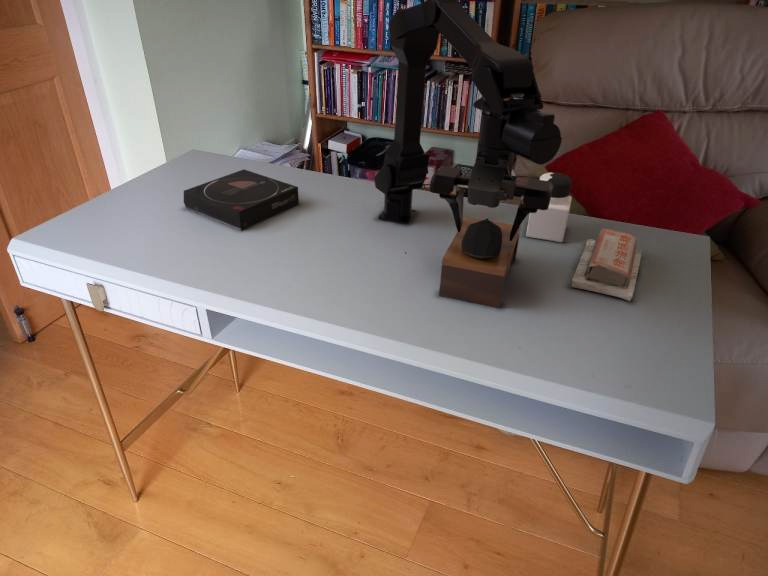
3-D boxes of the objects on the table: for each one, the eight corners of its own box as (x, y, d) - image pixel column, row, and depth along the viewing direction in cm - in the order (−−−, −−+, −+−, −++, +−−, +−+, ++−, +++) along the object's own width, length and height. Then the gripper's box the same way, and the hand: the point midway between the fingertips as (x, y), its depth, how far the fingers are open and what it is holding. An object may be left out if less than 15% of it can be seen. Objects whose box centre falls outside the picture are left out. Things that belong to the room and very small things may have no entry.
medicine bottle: (565, 228, 120) (577, 172, 114) (562, 243, 115) (574, 185, 108) (530, 222, 122) (539, 167, 116) (525, 237, 116) (535, 179, 110)
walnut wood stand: (461, 250, 111) (465, 216, 107) (515, 260, 108) (521, 225, 104) (438, 295, 97) (442, 258, 93) (499, 308, 94) (505, 270, 91)
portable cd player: (243, 185, 135) (241, 168, 133) (298, 204, 127) (297, 187, 125) (184, 207, 124) (181, 189, 121) (241, 230, 115) (239, 211, 113)
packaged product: (591, 222, 112) (647, 233, 108) (586, 245, 114) (640, 257, 111) (575, 263, 98) (638, 277, 94) (569, 288, 100) (631, 303, 97)
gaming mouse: (506, 225, 104) (509, 204, 102) (497, 264, 92) (501, 241, 90) (470, 220, 106) (473, 199, 104) (457, 258, 93) (460, 235, 91)
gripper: (423, 151, 86) (417, 246, 94) (554, 169, 81) (535, 268, 89) (442, 130, 95) (435, 219, 103) (561, 145, 90) (543, 237, 98)
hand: (484, 235), depth 98 cm, fingers open, 8 cm apart
